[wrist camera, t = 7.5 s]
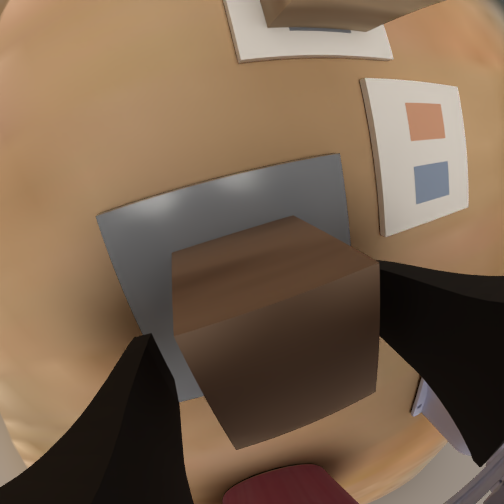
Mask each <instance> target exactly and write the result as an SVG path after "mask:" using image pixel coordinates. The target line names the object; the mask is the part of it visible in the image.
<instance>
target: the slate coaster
mask: <svg viewBox="0 0 504 504" xmlns="http://www.w3.org/2000/svg"><path fill="white" fill-rule="evenodd" d="M292 215H294V216H296V217H297V218H299V219H301V220H303V221H305V222H307V223H309V224H311V225H313V226H315V227H316V228H318V229H320V230H322V231H324V232H326V233H328V234H329V235H331V236H333V237H335V238H337V239H339V240H340V241H342V242H344V243H346V244H348V245H349V246H351V242H350V230H349V220H348V211H347V202H346V194H345V186H344V178H343V171H342V164H341V158H340V153H331V154H325V155H320V156H314V157H309V158H304V159H298V160H293V161H288V162H283V163H279V164H274V165H269V166H265V167H260V168H256V169H251V170H247V171H243V172H239V173H234V174H230V175H226V176H222V177H218V178H214V179H211V180H207V181H203V182H199V183H196V184H192V185H188V186H185V187H181V188H178V189H174V190H171V191H167V192H164V193H161V194H157V195H154V196H151V197H148V198H144V199H141V200H138V201H135V202H132V203H129V204H126V205H123V206H120V207H117V208H114V209H111V210H108V211H105V212H102V213H99V214H98V215H97V216H96V219H97V222H98V225H99V228H100V231H101V234H102V237H103V240H104V243H105V245H106V248H107V251H108V254H109V256H110V259H111V262H112V264H113V267H114V270H115V272H116V275H117V277H118V280H119V282H120V285H121V287H122V289H123V292H124V294H125V296H126V299H127V301H128V303H129V306H130V308H131V310H132V312H133V315H134V317H135V319H136V321H137V323H138V325H139V328H140V330H141V332H142V334H143V335H146V334H149V333H152V335H153V337H154V339H155V341H156V343H157V346H158V348H159V350H160V352H161V354H162V356H163V358H164V360H165V362H166V364H167V366H168V367H169V369H170V371H171V373H172V375H173V377H174V379H175V384H176V389H177V394H178V400H179V402H182V401H186V400H190V399H194V398H198V397H202V396H204V395H203V393H202V391H201V389H200V387H199V386H198V384H197V382H196V380H195V378H194V376H193V374H192V372H191V370H190V368H189V366H188V364H187V362H186V360H185V358H184V356H183V354H182V352H181V350H180V348H179V346H178V344H177V342H176V340H175V338H174V331H173V307H172V252H176V251H179V250H182V249H185V248H188V247H191V246H194V245H197V244H201V243H204V242H207V241H210V240H213V239H216V238H220V237H223V236H226V235H229V234H232V233H236V232H239V231H242V230H245V229H249V228H252V227H255V226H259V225H262V224H265V223H268V222H272V221H275V220H278V219H282V218H285V217H288V216H292Z"/></svg>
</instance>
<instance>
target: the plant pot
mask: <svg viewBox="0 0 504 504" xmlns="http://www.w3.org/2000/svg"><path fill="white" fill-rule="evenodd" d="M223 504H359V503H358V502H357V501H356V500H355V499H353V498H352V497H351V496H350V495H349V494H348V493H347V492H346V491H345V490H344V489H343V488H342V487H341V486H340V485H339V484H338V483H337V482H336V481H335V480H334V479H333V478H332V477H331V476H330V475H329V474H328V473H327V472H326V471H325V470H324V469H323V468H322V467H320V466H318V465H314V464H302V465H293V466H288V467H283V468H279V469H275V470H271V471H268V472H265V473H262V474H259V475H256V476H253V477H251V478H249V479H246V480H244V481H242V482H240V483H238V484H236V485H235V486H233V487H232V488H231V489H229V490H228V491H227V492H226V493H225V494H224V496H223Z"/></svg>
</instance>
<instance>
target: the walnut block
mask: <svg viewBox="0 0 504 504" xmlns="http://www.w3.org/2000/svg"><path fill="white" fill-rule="evenodd" d="M172 307H173V331H174V338H175V340H176V342H177V344H178V346H179V348H180V350H181V352H182V354H183V356H184V358H185V360H186V362H187V364H188V366H189V368H190V370H191V372H192V374H193V376H194V378H195V380H196V382H197V384H198V386H199V387H200V389H201V391H202V393H203V395H204V397H205V398H206V400H207V402H208V404H209V406H210V407H211V409H212V411H213V413H214V414H215V416H216V418H217V419H218V421H219V423H220V425H221V426H222V428H223V430H224V431H225V433H226V434H227V436H228V438H229V439H230V441H231V443H232V444H233V446H234V447H235V449H236V450H238V449H241V448H244V447H248V446H251V445H254V444H257V443H260V442H263V441H266V440H269V439H272V438H275V437H277V436H280V435H283V434H285V433H288V432H291V431H293V430H296V429H298V428H301V427H303V426H306V425H308V424H310V423H313V422H315V421H317V420H320V419H322V418H324V417H326V416H329V415H331V414H333V413H335V412H337V411H339V410H341V409H343V408H345V407H347V406H349V405H351V404H353V403H355V402H357V401H359V400H361V399H363V398H365V397H367V396H369V395H370V394H372V393H374V392H375V391H376V380H377V368H378V353H379V331H380V271H379V262H378V261H376V260H374V259H372V258H371V257H369V256H367V255H365V254H364V253H362V252H360V251H358V250H357V249H355V248H353V247H351V246H349V245H348V244H346V243H344V242H342V241H340V240H339V239H337V238H335V237H333V236H331V235H329V234H328V233H326V232H324V231H322V230H320V229H318V228H316V227H315V226H313V225H311V224H309V223H307V222H305V221H303V220H301V219H299V218H297V217H296V216H294V215H292V216H288V217H285V218H282V219H278V220H275V221H272V222H268V223H265V224H262V225H259V226H255V227H252V228H249V229H245V230H242V231H239V232H236V233H232V234H229V235H226V236H223V237H220V238H216V239H213V240H210V241H207V242H204V243H201V244H197V245H194V246H191V247H188V248H185V249H182V250H179V251H176V252H172Z"/></svg>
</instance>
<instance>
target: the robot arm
mask: <svg viewBox="0 0 504 504" xmlns="http://www.w3.org/2000/svg"><path fill="white" fill-rule="evenodd" d="M376 261H378V262H379V271H380V331H379V336H380V337H381V338H382V339H384V340H385V341H386V342H387V343H388V344H389V345H390V346H391V347H392V348H393V349H394V350H395V351H396V352H397V353H398V354H399V355H400V356H401V357H402V358H403V359H404V360H405V361H406V362H407V363H408V364H410V365H411V366H412V367H413V368H414V369H415V370H416V371H417V372H418V373H419V375H420V376H421V377H422V378H421V381H420V385H419V388H418V392H417V395H416V399H415V402H414V405H413V408H412V411H411V415H412V416H416V415H418V414H419V413H421V412H422V413H423V415H424V416H425V417H426V418H427V419H428V420H429V421H430V422H431V423H432V424H433V425H434V426H435V428H436V429H437V430H438V431H439V432H440V433H441V434H442V435H443V436H444V437H445V438H446V439H447V441H448V442H449V443H450V444H451V445H452V446H453V447H454V448H455V449H456V450H457V451H459V452H460V453H462V454H465V455H469V456H472V458H473V461H474V462H475V463H476V464H477V465H478V466H479V467H481V466H482V465H483V464H484V463H486V462H487V463H486V467H485V468H484V469H483V470H482V471H481V472H480V473H479V474H478V475H477V476H476V477H475V478H474V479H472V480H471V481H470V482H469V483H468V484H467V485H466V486H465V487H463V488H462V489H461V490H460V491H459V492H457V493H456V494H455V495H454V496H453V497H451V498H450V499H449V500H448V501H446V502H445V503H444V504H476V503H477V502H478V501H479V500H480V499H481V498H482V497H483V496H484V495H485V494H486V493H487V492H488V491H489V490H490V491H491V492H492V493H491V494H490V495H489V496H488V498H487V499H486V500H485V501H484V502H483V504H504V276H479V275H466V274H458V273H451V272H444V271H438V270H432V269H427V268H422V267H416V266H411V265H406V264H401V263H395V262H388V261H379V260H376ZM0 504H194V503H193V500H192V496H191V492H190V488H189V484H188V480H187V476H186V471H185V465H184V456H183V445H182V433H181V420H180V406H179V400H178V394H177V389H176V384H175V379H174V377H173V375H172V373H171V371H170V369H169V367H168V366H167V364H166V362H165V360H164V358H163V356H162V354H161V352H160V350H159V348H158V346H157V343H156V341H155V339H154V337H153V335H152V333H149V334H146V335H142V336H138V337H134V338H133V340H132V341H131V342H130V344H129V345H128V347H127V348H126V350H125V351H124V353H123V355H122V356H121V358H120V359H119V361H118V362H117V364H116V366H115V367H114V369H113V370H112V372H111V373H110V375H109V377H108V378H107V380H106V381H105V383H104V384H103V385H102V387H101V388H100V390H99V391H98V393H97V394H96V395H95V397H94V398H93V400H92V401H91V403H90V404H89V405H88V407H87V408H86V409H85V411H84V412H83V413H82V415H81V416H80V417H79V418H78V419H77V421H76V422H75V423H74V424H73V425H72V427H71V428H70V429H69V430H68V431H67V432H66V433H65V434H64V435H63V436H62V437H61V438H60V439H59V440H58V441H57V442H56V443H55V444H54V445H53V446H52V447H51V448H50V449H49V450H48V451H47V452H46V453H45V454H44V455H43V456H42V457H41V458H40V459H39V460H37V461H36V462H35V463H34V464H33V465H31V466H30V467H29V468H28V469H26V470H25V471H24V472H23V473H21V474H20V475H19V476H17V477H16V478H14V479H13V480H11V481H10V482H8V483H6V484H5V485H3V486H2V487H0Z"/></svg>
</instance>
